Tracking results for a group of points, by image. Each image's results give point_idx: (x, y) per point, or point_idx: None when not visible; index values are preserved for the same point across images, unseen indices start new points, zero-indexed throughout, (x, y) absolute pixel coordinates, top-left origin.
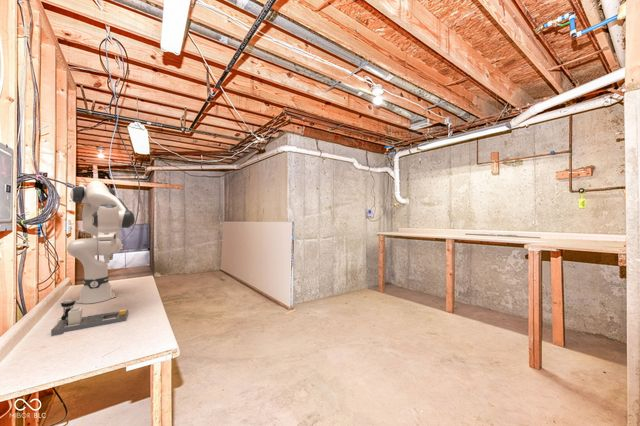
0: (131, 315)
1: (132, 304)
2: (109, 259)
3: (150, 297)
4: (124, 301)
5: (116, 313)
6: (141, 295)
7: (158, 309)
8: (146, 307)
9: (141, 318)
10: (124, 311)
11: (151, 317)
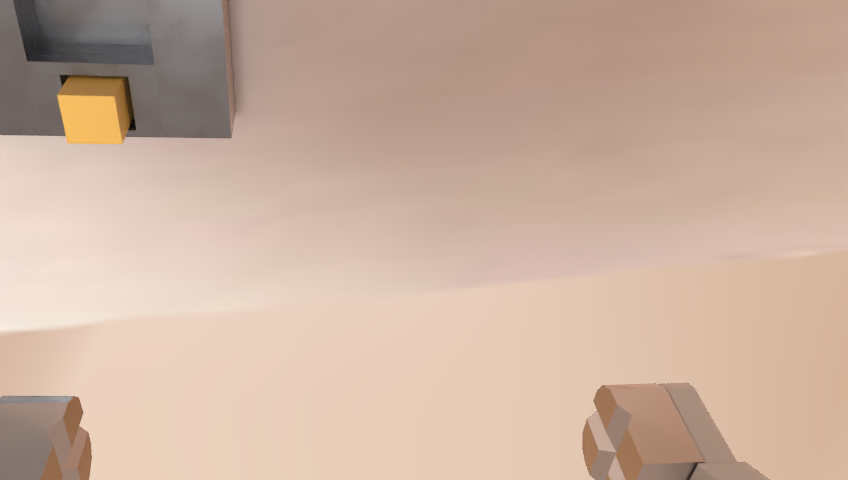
0: None
1: (578, 120)
2: (603, 415)
3: (687, 238)
4: (752, 48)
5: (153, 48)
6: (827, 172)
7: (269, 301)
8: (390, 225)
9: (82, 208)
10: (67, 133)
11: (72, 269)
